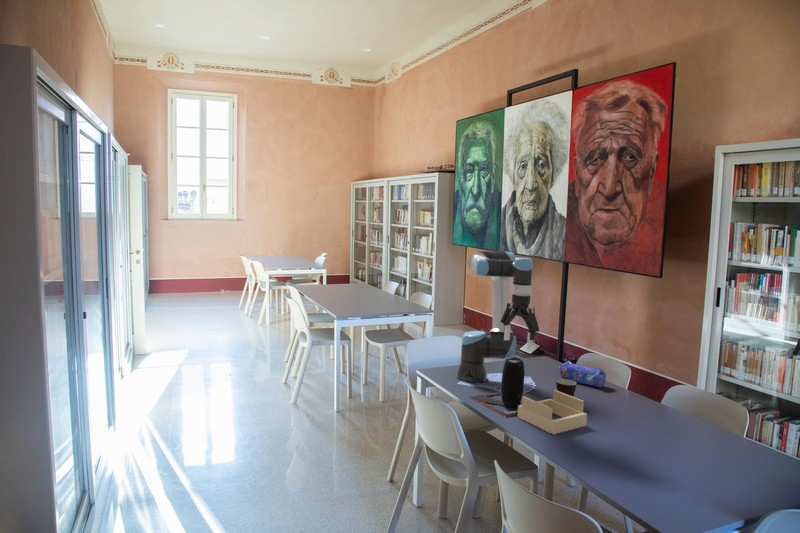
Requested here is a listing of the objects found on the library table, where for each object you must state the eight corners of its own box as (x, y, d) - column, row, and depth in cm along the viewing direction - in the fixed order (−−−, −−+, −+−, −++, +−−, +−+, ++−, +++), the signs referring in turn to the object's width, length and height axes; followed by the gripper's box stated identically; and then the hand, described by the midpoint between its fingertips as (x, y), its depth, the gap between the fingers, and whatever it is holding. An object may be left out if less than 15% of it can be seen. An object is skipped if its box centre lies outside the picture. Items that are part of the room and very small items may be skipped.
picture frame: (469, 400, 243) (506, 420, 221) (470, 396, 243) (506, 415, 221) (505, 394, 252) (542, 413, 231) (505, 390, 252) (543, 408, 230)
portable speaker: (524, 407, 231) (528, 362, 229) (503, 407, 230) (506, 362, 228) (518, 400, 239) (521, 357, 238) (497, 400, 238) (501, 356, 237)
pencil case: (557, 379, 276) (558, 361, 276) (565, 376, 283) (566, 358, 282) (599, 390, 261) (600, 371, 260) (606, 386, 268) (608, 367, 267)
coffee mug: (570, 409, 234) (572, 386, 233) (551, 404, 239) (553, 382, 238) (580, 402, 243) (581, 380, 242) (561, 397, 248) (563, 376, 247)
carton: (517, 417, 221) (518, 395, 220) (549, 409, 232) (550, 388, 231) (553, 434, 206) (555, 410, 205) (586, 425, 216) (588, 402, 215)
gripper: (494, 290, 237) (491, 337, 239) (537, 299, 216) (533, 351, 218) (507, 289, 241) (504, 336, 243) (550, 298, 220) (546, 349, 222)
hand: (518, 343), depth 231 cm, fingers open, 13 cm apart
